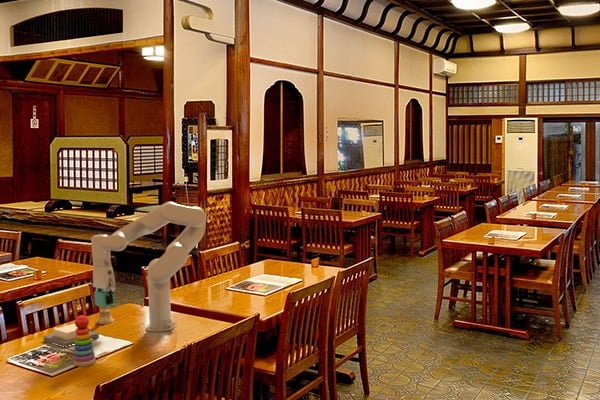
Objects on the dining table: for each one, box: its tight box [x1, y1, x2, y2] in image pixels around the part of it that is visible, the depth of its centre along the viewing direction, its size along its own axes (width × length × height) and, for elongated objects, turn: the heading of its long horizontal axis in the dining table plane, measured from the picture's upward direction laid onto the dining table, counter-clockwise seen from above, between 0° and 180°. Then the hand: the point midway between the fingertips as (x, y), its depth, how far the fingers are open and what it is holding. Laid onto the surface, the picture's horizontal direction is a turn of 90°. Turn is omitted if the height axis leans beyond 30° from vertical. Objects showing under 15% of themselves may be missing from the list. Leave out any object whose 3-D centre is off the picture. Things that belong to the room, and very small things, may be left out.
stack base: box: [43, 322, 100, 347], centre depth 262 cm, size 16×16×5 cm
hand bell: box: [95, 289, 115, 325], centre depth 288 cm, size 8×8×16 cm
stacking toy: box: [72, 315, 97, 367], centre depth 232 cm, size 8×8×19 cm
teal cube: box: [93, 289, 116, 308], centre depth 270 cm, size 6×6×6 cm
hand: (105, 302), depth 270 cm, fingers closed on teal cube, 6 cm apart
